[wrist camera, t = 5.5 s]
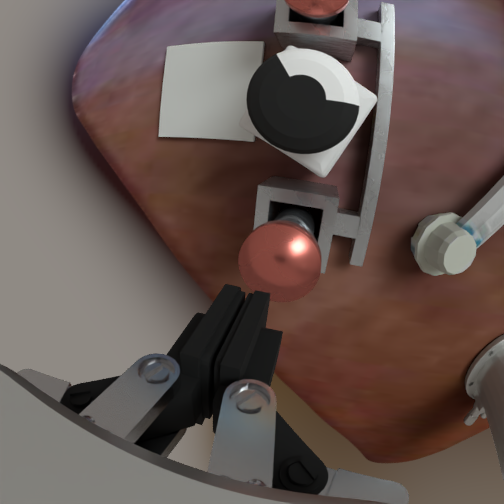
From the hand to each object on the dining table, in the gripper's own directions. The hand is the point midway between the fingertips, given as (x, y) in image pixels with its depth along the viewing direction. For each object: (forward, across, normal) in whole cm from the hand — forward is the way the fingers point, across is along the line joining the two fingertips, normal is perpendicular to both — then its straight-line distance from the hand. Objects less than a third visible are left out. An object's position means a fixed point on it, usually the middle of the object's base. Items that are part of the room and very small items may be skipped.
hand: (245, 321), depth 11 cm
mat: (+18, +9, -11) cm, 23 cm away
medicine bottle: (+18, -1, -9) cm, 20 cm away
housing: (+18, -2, -9) cm, 20 cm away
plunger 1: (+14, -1, 0) cm, 14 cm away
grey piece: (+18, -21, -7) cm, 29 cm away
